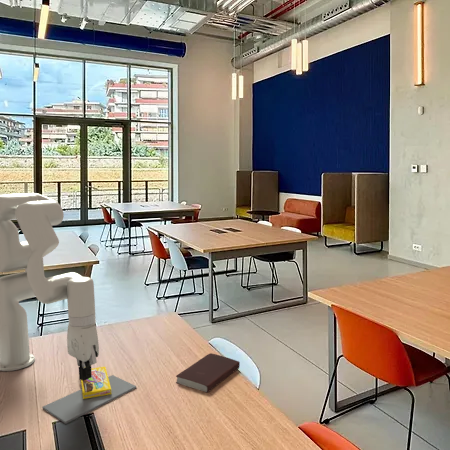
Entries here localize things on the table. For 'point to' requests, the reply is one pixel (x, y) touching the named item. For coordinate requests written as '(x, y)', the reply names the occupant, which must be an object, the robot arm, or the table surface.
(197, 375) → the book
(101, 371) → the candy box
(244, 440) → the table surface
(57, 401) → the mat
